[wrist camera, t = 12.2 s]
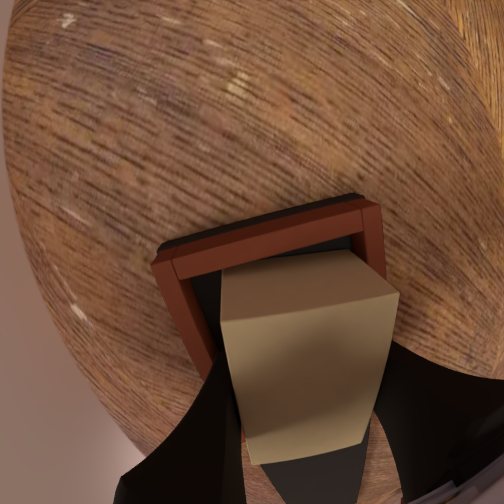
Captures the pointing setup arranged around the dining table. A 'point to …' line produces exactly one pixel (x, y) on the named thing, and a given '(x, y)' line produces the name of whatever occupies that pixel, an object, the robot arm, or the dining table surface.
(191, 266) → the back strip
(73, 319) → the dining table surface
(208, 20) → the dining table surface
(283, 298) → the foam pad
